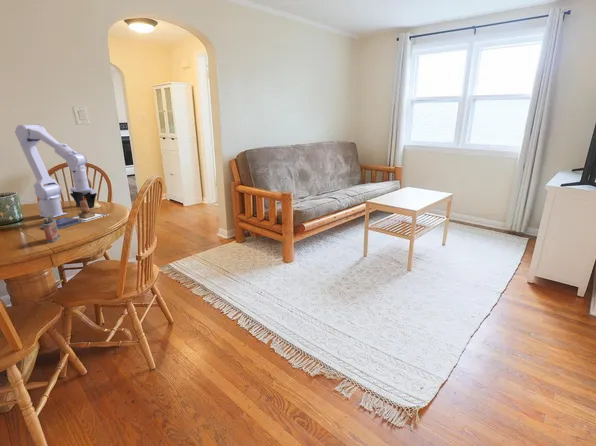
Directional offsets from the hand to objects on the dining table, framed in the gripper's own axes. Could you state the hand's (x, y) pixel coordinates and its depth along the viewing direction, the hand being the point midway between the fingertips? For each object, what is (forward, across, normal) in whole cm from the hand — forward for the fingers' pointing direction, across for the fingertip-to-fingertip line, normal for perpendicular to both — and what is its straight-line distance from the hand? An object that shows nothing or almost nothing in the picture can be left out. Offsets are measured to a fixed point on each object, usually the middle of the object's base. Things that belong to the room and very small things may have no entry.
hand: (86, 207), depth 165 cm
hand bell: (+5, -15, +14) cm, 21 cm away
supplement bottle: (+5, -24, +15) cm, 29 cm away
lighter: (+5, +17, -28) cm, 33 cm away
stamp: (+5, 0, 0) cm, 5 cm away
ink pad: (+5, +1, -14) cm, 15 cm away
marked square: (+5, 0, 0) cm, 5 cm away
